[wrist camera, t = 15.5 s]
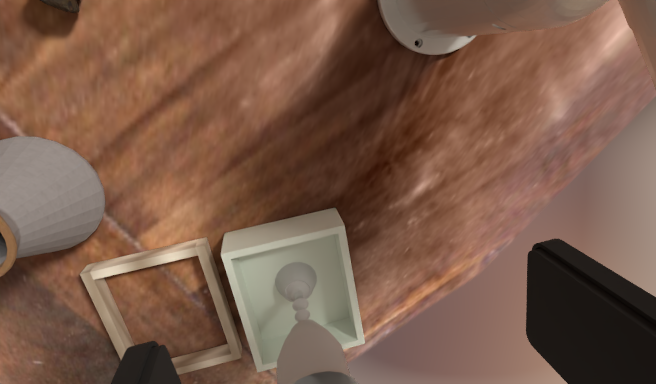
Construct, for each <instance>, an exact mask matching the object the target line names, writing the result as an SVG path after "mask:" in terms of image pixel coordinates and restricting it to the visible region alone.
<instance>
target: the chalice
mask: <svg viewBox="0 0 656 384" xmlns="http://www.w3.org/2000/svg"><path fill="white" fill-rule="evenodd" d="M316 282H317V276H316V273H315V270H314V269H313V268H312V267H311V266H309V265H308V264H306V263H302V262H293V263H290V264H287V265H285V266H284V267H283V268H281V269H280V271H279V272H278V273H277V275H276V278H275V286H276V288H277V290H278V292H279V293H280V294H281V295H282V296H283V297H285V299H287V300H288V301H290V302H293V304H292V307H293V309H294V310H295V311H297V312H296V314H295V320H296V321H298V323H296V324H295V325H294V326H293V328H292V329H291V331H290V333H289V334H288V336H287V338H286V339H285V341H284V344H283V346H282V349H281V351H280V354H279V357H278V360H277V384H358V383H357V381H356V380H355V379H354V378H353V377H352V376H350V372H349V369H348V365H347V362H346V359H345V355H344V352H343V349H342V345H341V344H340V343H339V342H338V341H337V339H336V338H335V337H334V336H333V335H332V334H331V333H330V332H329V331H328V330H327V329H326V328H324V327H323V326H321V325H320V324H318V323H317V322H315V321H313V320H310V319H309V317H310V312H309V311H308V310H306V309H307V307H308V304H309V303H308V301H307V298H309V296H310V295H311V294H312V292H313V289H314V287H315V285H316Z"/></svg>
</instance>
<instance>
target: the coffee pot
mask: <svg viewBox="0 0 656 384" xmlns="http://www.w3.org/2000/svg"><path fill="white" fill-rule="evenodd" d="M104 208H105V196H104V188H103V186H102V183H101V181H100V179H99V177H98V174H97V173H96V171H95V170H94V169H93V167H92V166H91V165H90V164H89V162H88V161H87V160H86V159H84V158H83V157H82V156H81V155H79V154H78V153H77V152H76V151H74V150H72V149H70V148H68V147H66V146H64V145H62V144H60V143H58V142H56V141H52V140H48V139H44V138H40V137H21V136H17V137H12V138H8V139H3V140H0V277H1V276H3V275H4V274H5V273H6V272H7V271H9V270H10V269H11V268H12V266H13V264H14V262H15V260H16V258H21V257H27V256H32V255H38V254H44V253H49V252H55V251H59V250H63V249H67V248H71V247H73V246H75V245H77V244H79V243H80V242H82V241H84V240H86V239H87V238H88V237H89V236H90V235H91V234H92V233H93V232H94V231H95V230H96V229H97V227H98V225H99V223H100V221H101V220H102V218H103V214H104Z"/></svg>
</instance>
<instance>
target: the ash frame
mask: <svg viewBox="0 0 656 384" xmlns="http://www.w3.org/2000/svg"><path fill="white" fill-rule="evenodd" d="M197 255H198V257H199V260H200V263H201V266H202V269H203V272H204V275H205V278H206V281H207V284H208V287H209V289H210V292H211V295H212V298H213V301H214V304H215V307H216V310H217V313H218V316H219V319H220V322H221V325H222V328H223V331H224V334H225V337H226V340H227V343H228V344H225V345H221V346H217V347H214V348H210V349H206V350H202V351H198V352H194V353H190V354H187V355H183V356H179V357H175V358H171V360H172V362H173V364H174V367H175V369H176V372H177V374H178V375H180V374H183V373H187V372H191V371H195V370H199V369H202V368H206V367H210V366H214V365H217V364H221V363H225V362H229V361H233V360H236V359H240V358H242V345H241V342H240V338H239V335H238V332H237V329H236V326H235V323H234V320H233V317H232V314H231V311H230V307H229V304H228V301H227V298H226V295H225V292H224V289H223V286H222V283H221V280H220V276H219V273H218V270H217V267H216V264H215V261H214V258H213V255H212V252H211V249H210V246H209V242H208V239H207V237H205V238H201V239H196V240H192V241H188V242H183V243H179V244H175V245H170V246H166V247H162V248H157V249H153V250H149V251H144V252H140V253H136V254H131V255H127V256H123V257H118V258H114V259H110V260H105V261H101V262H97V263H92V264H88V265H87V266H86V267H85V269H84V270H83V271H82V272H81V274H80V275H81V278H82V280H83V282H84V284H85V286H86V288H87V290H88V292H89V294H90V296H91V298H92V301H93V303H94V305H95V307H96V309H97V311H98V313H99V315H100V317H101V319H102V321H103V324H104V326H105V328H106V330H107V332H108V334H109V336H110V338H111V340H112V342H113V345H114V347H115V349H116V351H117V353H118V355H119V357H120V359H121V360H122V358H123V355H124V353H125V351H126V350H127V348H129V347H131V346H135V345H134V343H133V341H132V338H131V336H130V334H129V332H128V329H127V327H126V325H125V323H124V321H123V318H122V316H121V314H120V312H119V310H118V307H117V305H116V303H115V301H114V299H113V296H112V294H111V292H110V290H109V287H108V285H107V283H106V281H105V279H104V277H108V276H112V275H116V274H121V273H125V272H129V271H134V270H138V269H142V268H146V267H151V266H155V265H159V264H163V263H168V262H172V261H176V260H180V259H185V258H189V257H193V256H197Z"/></svg>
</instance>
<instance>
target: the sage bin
mask: <svg viewBox="0 0 656 384" xmlns="http://www.w3.org/2000/svg"><path fill="white" fill-rule="evenodd" d="M221 257H222V260H223V263H224V267H225V270H226V273H227V276H228V279H229V283H230V286H231V289H232V292H233V295H234V298H235V302H236V305H237V308H238V311H239V314H240V318H241V321H242V324H243V327H244V330H245V334H246V337H247V340H248V343H249V346H250V349H251V353H252V356H253V359H254V362H255V365H256V369H257V372H261V371H265V370H269V369H272V368H276V367H277V360H278V357H279V354H280V351H281V349H282V346H283V344H284V341H285V339H286V338H287V336H288V334H289V333H290V331H291V329H292V328H293V326H294V325H295V324H296V323H298V321H296V320H295V314H296V312H297V311H295V310H294V309H293V307H292V304H293V302H290V301H288V300H287V299H285V297H283V296H282V295H281V294H280V293H279V292H278V290H277V288H276V286H275V278H276V275H277V273H278V272H279V271H280V269H281V268H283V267H284V266H285V265H287V264H290V263H293V262H302V263H306V264H308V265H309V266H311V267H312V268H313V269H314V270H315V273H316V276H317V282H316V285H315V287H314V289H313V292H312V294H311V295H310V296H309V298H307V301H308V303H309V304H308V307H307V309H306V310H308V311H309V312H310V317H309V319H310V320H313V321H315V322H317V323H318V324H320V325H321V326H323V327H324V328H326V329H327V330H328V331H329V332H330V333H331V334H332V335H333V336H334V337H335V338H336V339H337V341H338V342H339V343H340V344H341V345H342V349H347V348H350V347H354V346H358V345H361V344H365V340H364V334H363V329H362V323H361V317H360V311H359V306H358V300H357V294H356V288H355V283H354V277H353V271H352V265H351V260H350V254H349V248H348V242H347V237H346V231H345V225H344V223H343V221H342V219H341V217H340V215H339V213H338V211H337V210H336V208H331V209H327V210H322V211H318V212H314V213H309V214H305V215H301V216H296V217H292V218H288V219H283V220H279V221H275V222H270V223H266V224H261V225H257V226H253V227H248V228H244V229H240V230H235V231H231V232H227V233H224V238H223V244H222V249H221Z"/></svg>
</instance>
